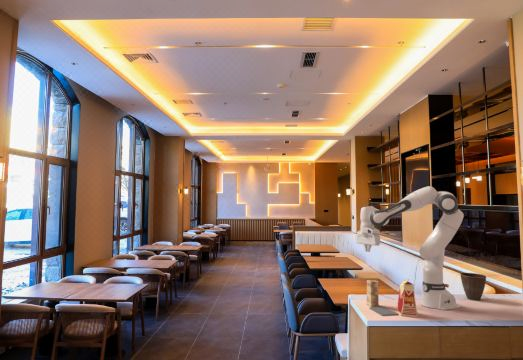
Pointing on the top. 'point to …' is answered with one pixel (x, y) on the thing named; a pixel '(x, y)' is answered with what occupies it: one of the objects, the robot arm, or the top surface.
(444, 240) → the robot arm
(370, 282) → the block
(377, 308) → the mat
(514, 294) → the top surface
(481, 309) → the top surface
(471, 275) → the plant pot
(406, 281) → the red figurine
